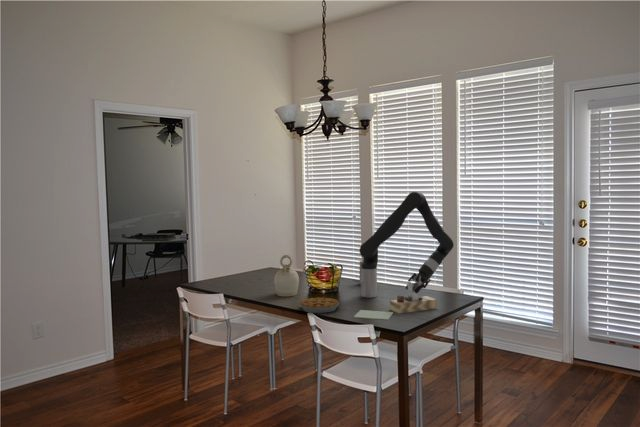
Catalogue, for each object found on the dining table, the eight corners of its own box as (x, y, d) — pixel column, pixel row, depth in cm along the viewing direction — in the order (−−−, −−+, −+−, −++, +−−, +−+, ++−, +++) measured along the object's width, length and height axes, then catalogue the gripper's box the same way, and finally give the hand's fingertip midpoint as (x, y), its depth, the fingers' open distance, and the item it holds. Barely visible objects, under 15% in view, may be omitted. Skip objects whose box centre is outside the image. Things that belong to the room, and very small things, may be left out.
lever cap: (412, 301, 273) (412, 282, 273) (407, 299, 277) (407, 281, 277) (418, 300, 275) (418, 282, 274) (414, 298, 279) (414, 280, 278)
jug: (295, 297, 308) (295, 257, 307) (271, 296, 311) (270, 256, 310) (301, 292, 323) (301, 253, 322) (278, 291, 326) (277, 253, 325)
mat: (353, 317, 261) (353, 316, 261) (360, 310, 275) (360, 310, 275) (388, 319, 256) (388, 319, 256) (393, 312, 269) (393, 312, 269)
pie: (337, 303, 292) (337, 295, 292) (340, 313, 270) (340, 304, 270) (300, 304, 291) (299, 296, 291) (299, 314, 270) (299, 305, 269)
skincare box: (362, 285, 340) (362, 262, 339) (359, 283, 347) (358, 260, 346) (374, 284, 343) (374, 261, 342) (370, 282, 349) (370, 259, 348)
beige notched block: (398, 313, 268) (398, 298, 267) (390, 309, 276) (389, 295, 275) (436, 308, 277) (436, 293, 276) (427, 304, 285) (427, 290, 285)
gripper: (417, 262, 284) (399, 284, 281) (432, 265, 271) (414, 289, 267) (425, 270, 287) (408, 292, 283) (440, 274, 273) (422, 297, 270)
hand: (411, 290), depth 275 cm, fingers open, 8 cm apart
